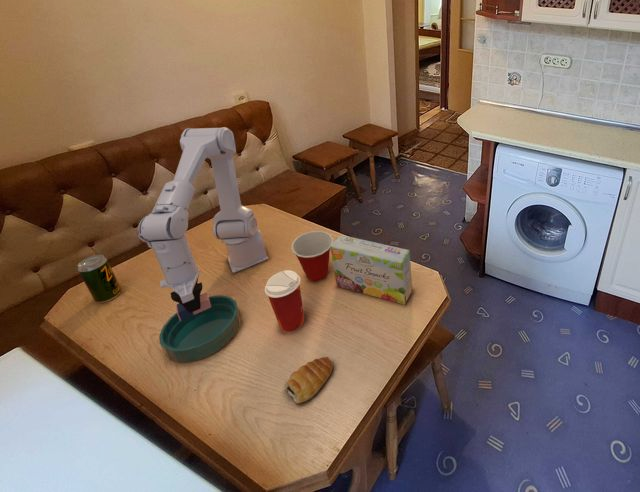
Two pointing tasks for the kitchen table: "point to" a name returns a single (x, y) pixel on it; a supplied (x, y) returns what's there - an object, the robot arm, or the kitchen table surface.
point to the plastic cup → (313, 253)
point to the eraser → (185, 314)
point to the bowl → (201, 331)
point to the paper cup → (286, 299)
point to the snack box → (372, 268)
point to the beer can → (99, 278)
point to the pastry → (309, 379)
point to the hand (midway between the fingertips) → (194, 304)
